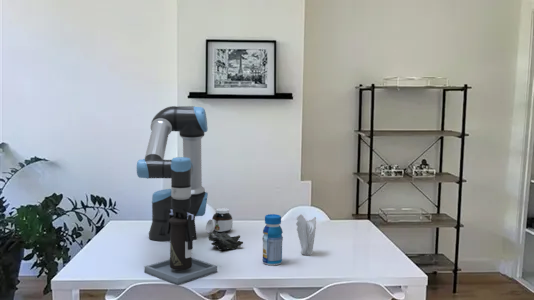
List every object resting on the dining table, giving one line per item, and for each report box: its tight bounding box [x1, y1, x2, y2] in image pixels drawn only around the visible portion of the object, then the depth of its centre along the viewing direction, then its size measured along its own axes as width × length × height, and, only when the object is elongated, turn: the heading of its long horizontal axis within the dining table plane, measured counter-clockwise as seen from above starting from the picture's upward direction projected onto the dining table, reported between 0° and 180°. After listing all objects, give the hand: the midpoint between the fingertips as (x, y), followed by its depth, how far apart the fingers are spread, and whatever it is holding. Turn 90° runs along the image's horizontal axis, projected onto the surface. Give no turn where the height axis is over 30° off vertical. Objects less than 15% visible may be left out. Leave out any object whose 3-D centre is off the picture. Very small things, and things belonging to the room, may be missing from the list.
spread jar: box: [205, 207, 234, 234], centre depth 266 cm, size 12×11×12 cm
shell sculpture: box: [296, 214, 317, 256], centre depth 231 cm, size 8×8×18 cm
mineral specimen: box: [208, 232, 244, 251], centre depth 238 cm, size 15×13×10 cm
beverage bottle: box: [262, 213, 284, 266], centre depth 218 cm, size 8×8×20 cm
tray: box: [143, 257, 218, 286], centre depth 205 cm, size 20×20×2 cm
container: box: [169, 217, 193, 270], centre depth 204 cm, size 9×9×20 cm
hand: (181, 254), depth 204 cm, fingers closed on container, 8 cm apart
